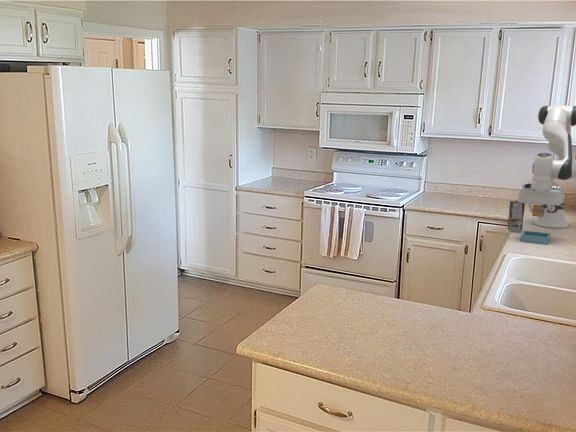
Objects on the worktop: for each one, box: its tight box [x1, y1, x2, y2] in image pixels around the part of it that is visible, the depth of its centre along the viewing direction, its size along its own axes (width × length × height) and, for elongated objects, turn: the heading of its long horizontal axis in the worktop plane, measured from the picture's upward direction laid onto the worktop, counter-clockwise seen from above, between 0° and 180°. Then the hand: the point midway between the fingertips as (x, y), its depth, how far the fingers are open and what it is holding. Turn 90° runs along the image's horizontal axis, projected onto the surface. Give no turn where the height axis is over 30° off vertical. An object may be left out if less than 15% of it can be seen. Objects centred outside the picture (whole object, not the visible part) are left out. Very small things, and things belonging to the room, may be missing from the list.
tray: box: [520, 230, 551, 245], centre depth 291 cm, size 13×13×4 cm
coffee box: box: [507, 200, 526, 233], centre depth 315 cm, size 9×6×16 cm
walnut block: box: [531, 204, 545, 218], centre depth 289 cm, size 5×5×5 cm
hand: (538, 212), depth 289 cm, fingers closed on walnut block, 5 cm apart
